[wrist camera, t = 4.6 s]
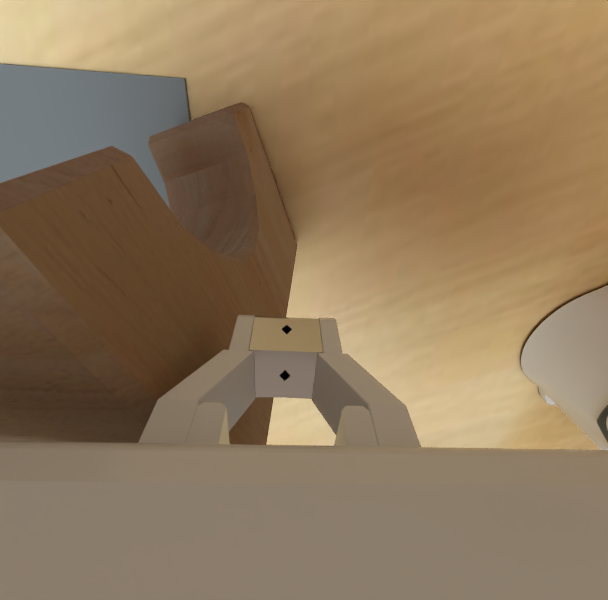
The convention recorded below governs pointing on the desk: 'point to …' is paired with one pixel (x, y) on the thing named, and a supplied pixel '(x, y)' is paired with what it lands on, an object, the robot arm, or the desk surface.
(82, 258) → the decorative block
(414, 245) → the desk surface
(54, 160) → the felt mat
